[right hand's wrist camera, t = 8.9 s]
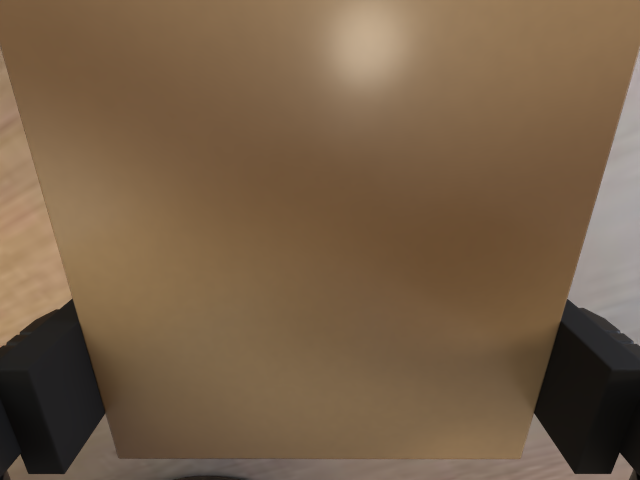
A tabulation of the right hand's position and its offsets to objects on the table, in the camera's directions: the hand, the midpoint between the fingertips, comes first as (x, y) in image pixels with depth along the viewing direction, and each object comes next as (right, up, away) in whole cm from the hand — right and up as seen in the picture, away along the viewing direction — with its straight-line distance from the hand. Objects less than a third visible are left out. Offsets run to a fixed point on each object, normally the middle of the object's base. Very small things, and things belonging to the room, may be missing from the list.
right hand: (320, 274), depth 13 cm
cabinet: (0, +8, +4) cm, 9 cm away
